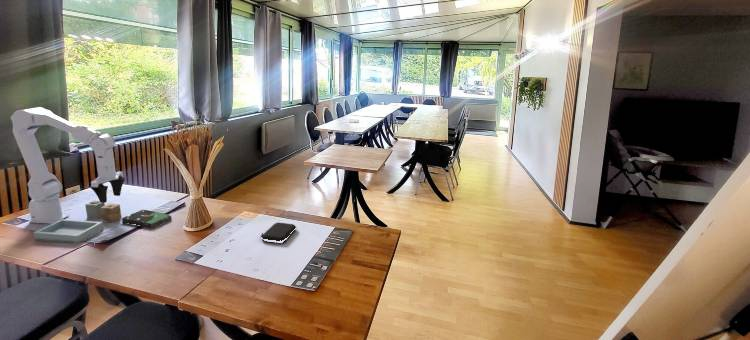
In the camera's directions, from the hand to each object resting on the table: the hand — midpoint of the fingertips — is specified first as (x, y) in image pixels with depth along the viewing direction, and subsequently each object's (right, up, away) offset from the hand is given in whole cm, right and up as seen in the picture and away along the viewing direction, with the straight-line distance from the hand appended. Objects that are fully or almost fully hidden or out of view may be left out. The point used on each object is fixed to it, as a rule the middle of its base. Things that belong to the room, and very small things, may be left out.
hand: (110, 198), depth 153 cm
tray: (-7, -12, -11) cm, 18 cm away
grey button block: (-10, -8, +6) cm, 13 cm away
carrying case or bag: (+67, -15, -2) cm, 69 cm away
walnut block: (-2, -9, +3) cm, 10 cm away
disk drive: (+12, -10, +4) cm, 17 cm away
